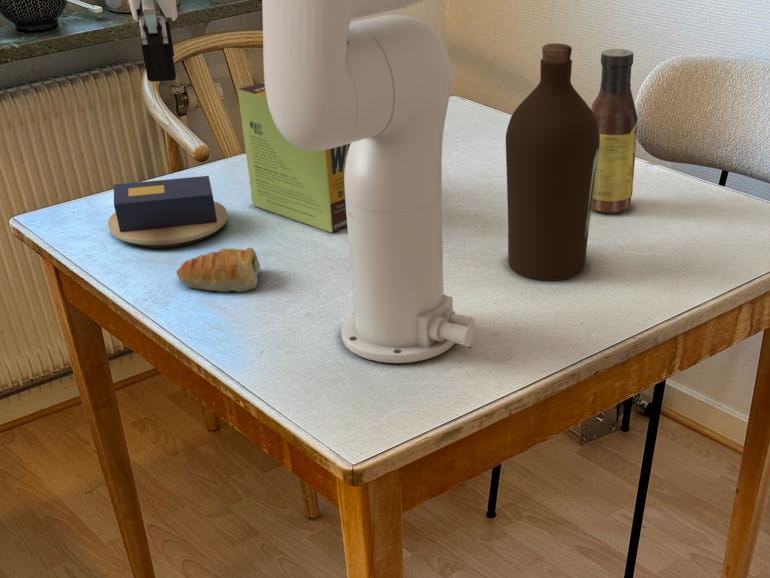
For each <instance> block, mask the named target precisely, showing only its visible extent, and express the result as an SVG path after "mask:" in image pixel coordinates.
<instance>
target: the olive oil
mask: <svg viewBox="0 0 770 578" xmlns="http://www.w3.org/2000/svg"><path fill="white" fill-rule="evenodd" d="M572 48H573V47H572V46H571V45H569V44H565V43H556V42H555V43H554V42H553V43H547V44H544V45H543V46H542V47H541V54H542V58H541V59H540V69H539V71H540V80H539V82H538V84H537V85H536V87H535V88H534V89H533V90H532V91H531V92H530V93H529V94H528V95H527V96H526V97H525V98H524V99H523V100H522V101H521V103H520V104H519V105H517V107H516V108H515V109H514V111H513V112H512V114H511V116H510V119H509V121H508V124H507V128H506V132H505V163H506V167H505V168H506V194H507V195H506V196H507V197H506V198H507V199H506V201H507V242H508V243H507V254H508V255H507V261H508V266H509V268H510V269H511V270H512V271H513V272H514V273H515V274H518V275H519V276H521V277H525V278H527V279H532V280H538V281H560V280H565V279H570V278H572V277H575V276H577V275H579V274H580V273H582V272H583V270H584V268H585V266H586V260H587V250H588V239H589V234H590V233H589V231H590V224H591V223H590V222H591V215H592V214H591V213H592V209H591V207H592V199H593V191H594V183H595V175H596V168H597V160H598V153H599V145H600V135H599V129H598V124H597V120H596V117H595V115H594V113H593V112H592V110H591V107H590V106H589V104H587V102H586V101H585V100H584V98H583V97H582V96H581V95H580V94H579V93H578V91H577V90H576V89H575V88H574V86H573V85H572V83H571V82H572V81H571V80H572V79H571V78H572V67H573V66H572V65H573V60H572V59H571V57H572V56H571V55H572V50H573V49H572Z"/></svg>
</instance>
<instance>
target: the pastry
mask: <svg viewBox="0 0 770 578" xmlns="http://www.w3.org/2000/svg"><path fill="white" fill-rule="evenodd" d="M260 272H261V264H260V262H259V259H258V255H257V253H256V252H255V250H254V249H253V248H252V247H250V246H249V247H247V248H246V249H239V248H237V249H236V248H221V249H219V250H217V251H216V252H215V251H211V252H208V253H206V254H199V255H198V256H196V257H195V258H194V257H193V258H190V259H187V260H186V261H183V263H181V265H180V267H179V268H177V269H176V276H177V277H178V280H179V281H180V282H181V283H182V284H183V285H185V286H187V287H189V288H190V289H192V288H193V289H196V290H206V291H207V292H209V291H211V292H215V291H216V292H230V291H233V292H234V291H235V292H236V293H237V292H238V293H240V292H242V293H243V292H247V291H250V290H254V289H256V287H257V284H258V282H259V280H258V279H259V278H258V275H259V273H260Z"/></svg>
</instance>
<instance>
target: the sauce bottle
mask: <svg viewBox="0 0 770 578" xmlns="http://www.w3.org/2000/svg"><path fill="white" fill-rule="evenodd" d="M633 64H634V52H633V51H632V50H631V49H630V50H629V49H624V48H609V49H605V50H603V51H601V56H600V65H601V80H600V81H601V82H600V90H599V92H598V94H597V96H596V97H595V99H594V101H593V102H592V104H591V107H590V109H591V110H592V112H593V113H594V115H595V117H596V120H597V124H598V129H599V135H600V145H599V153H598V160H597V168H596V175H595V183H594V191H593V199H592V207H591V211H594V212H598V213H602V214H614V213H616V214H617V213H621V212H625V211H626V210H628V209H629V208H630V207H631V204H632V203H631V202H632V196H633V191H634V189H633V188H634V177H635V161H636V151H637V148H636V147H637V136H638V135H637V133H638V119H639V118H638V114H637V109H636V105H635V101H634V97H633V94H632V93H633V92H632V89H631V86H632V85H631V78H632V66H633Z"/></svg>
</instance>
